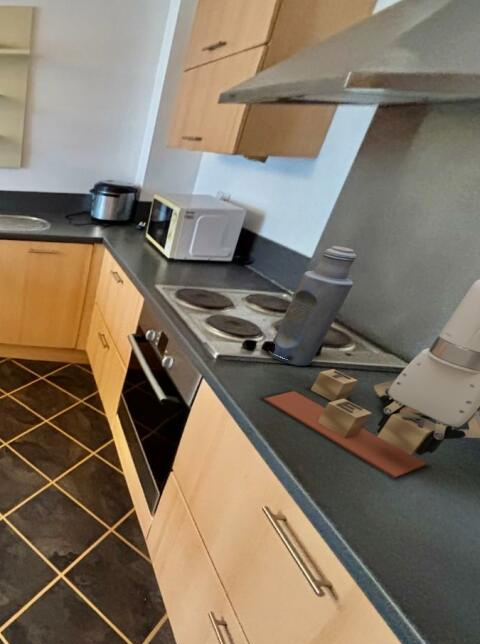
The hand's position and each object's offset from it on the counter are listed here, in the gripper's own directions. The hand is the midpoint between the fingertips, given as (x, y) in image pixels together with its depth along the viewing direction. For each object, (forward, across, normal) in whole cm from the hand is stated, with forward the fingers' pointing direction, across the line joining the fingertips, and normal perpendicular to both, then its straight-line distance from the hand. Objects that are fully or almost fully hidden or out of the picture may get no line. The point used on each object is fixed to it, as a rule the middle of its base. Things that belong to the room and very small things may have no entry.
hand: (402, 441), depth 74 cm
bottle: (+5, +33, -22) cm, 40 cm away
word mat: (+5, +9, 0) cm, 10 cm away
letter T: (+5, +18, -13) cm, 23 cm away
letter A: (0, 0, 0) cm, 0 cm away
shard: (+5, +8, -23) cm, 25 cm away
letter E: (+4, +9, 0) cm, 10 cm away
